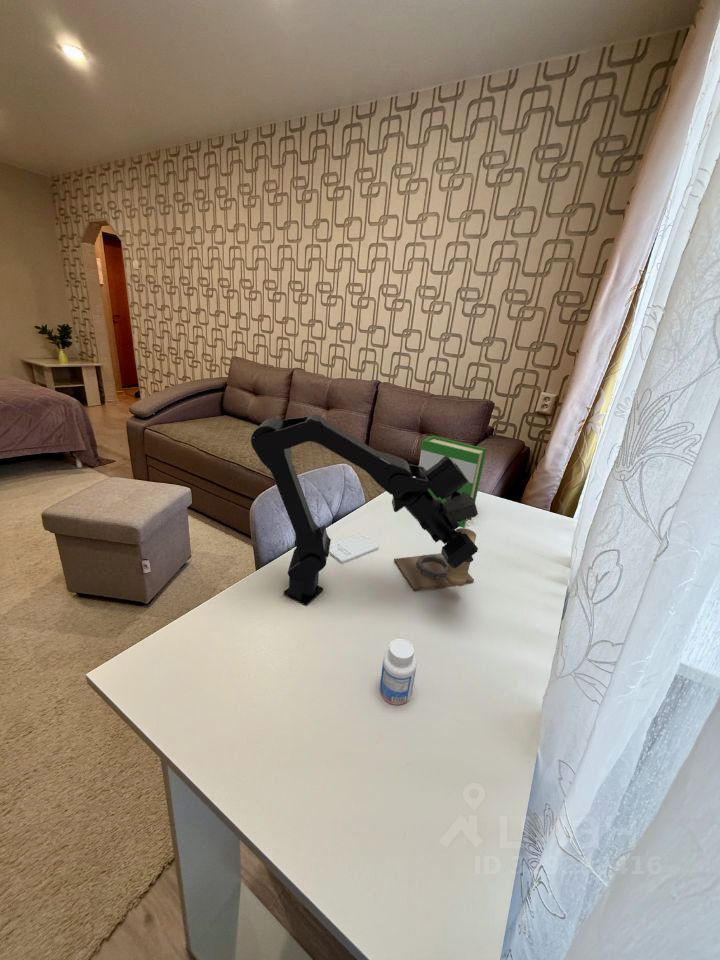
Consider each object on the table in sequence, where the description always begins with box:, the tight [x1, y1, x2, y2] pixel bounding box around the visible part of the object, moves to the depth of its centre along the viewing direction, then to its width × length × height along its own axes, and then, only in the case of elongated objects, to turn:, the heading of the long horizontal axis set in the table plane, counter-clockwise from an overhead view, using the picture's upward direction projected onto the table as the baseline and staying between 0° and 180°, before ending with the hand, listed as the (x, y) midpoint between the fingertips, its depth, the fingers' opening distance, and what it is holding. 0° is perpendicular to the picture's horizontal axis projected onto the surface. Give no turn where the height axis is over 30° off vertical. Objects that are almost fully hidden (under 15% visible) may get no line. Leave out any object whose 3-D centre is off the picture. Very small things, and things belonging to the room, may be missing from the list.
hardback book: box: [418, 435, 488, 528], centre depth 124 cm, size 18×7×24 cm, turn 57°
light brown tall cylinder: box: [446, 527, 477, 587], centre depth 86 cm, size 4×4×12 cm
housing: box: [393, 552, 475, 593], centre depth 98 cm, size 16×12×2 cm
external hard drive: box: [329, 533, 380, 565], centre depth 105 cm, size 2×8×12 cm
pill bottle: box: [379, 638, 418, 705], centre depth 64 cm, size 6×5×10 cm
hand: (467, 554), depth 86 cm, fingers closed on light brown tall cylinder, 4 cm apart
